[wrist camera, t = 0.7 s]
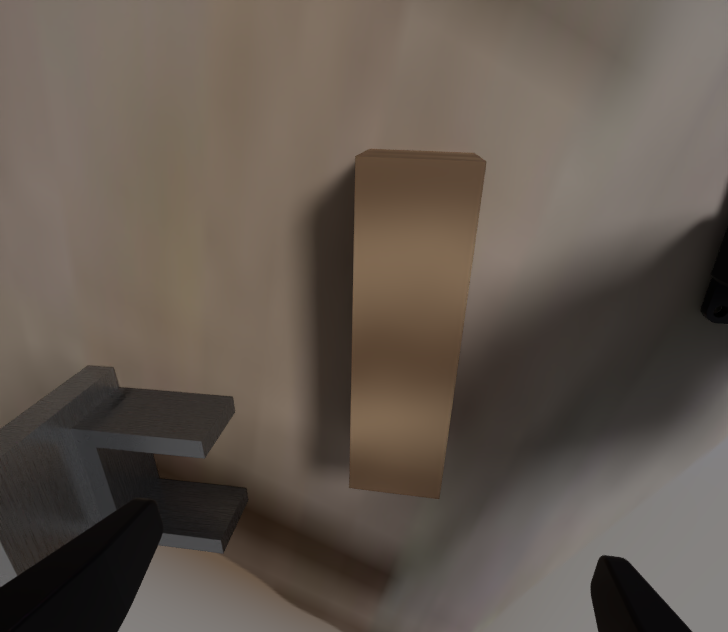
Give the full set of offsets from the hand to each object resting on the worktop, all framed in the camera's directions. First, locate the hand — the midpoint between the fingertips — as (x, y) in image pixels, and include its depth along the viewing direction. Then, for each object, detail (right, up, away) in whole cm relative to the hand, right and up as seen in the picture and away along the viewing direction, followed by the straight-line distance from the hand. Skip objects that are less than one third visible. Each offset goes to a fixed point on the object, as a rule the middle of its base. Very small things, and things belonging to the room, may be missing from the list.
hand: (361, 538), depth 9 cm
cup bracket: (-11, -3, +16) cm, 20 cm away
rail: (+2, +5, +11) cm, 12 cm away
